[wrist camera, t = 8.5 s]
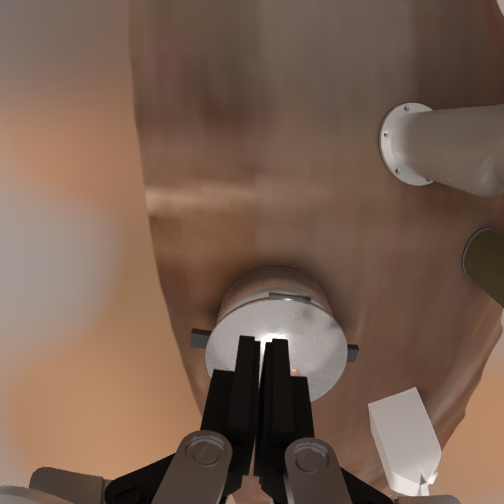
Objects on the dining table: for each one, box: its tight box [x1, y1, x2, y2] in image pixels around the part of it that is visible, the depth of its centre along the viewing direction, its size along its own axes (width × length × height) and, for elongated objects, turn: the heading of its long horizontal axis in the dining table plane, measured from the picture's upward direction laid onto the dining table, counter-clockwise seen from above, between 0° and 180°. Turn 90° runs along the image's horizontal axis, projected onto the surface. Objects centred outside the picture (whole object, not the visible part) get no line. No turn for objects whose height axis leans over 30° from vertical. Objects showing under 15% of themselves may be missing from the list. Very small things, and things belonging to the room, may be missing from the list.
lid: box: [205, 292, 348, 402], centre depth 38 cm, size 19×20×3 cm
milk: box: [368, 387, 441, 496], centre depth 46 cm, size 12×12×26 cm
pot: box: [191, 266, 359, 362], centre depth 45 cm, size 24×18×10 cm
